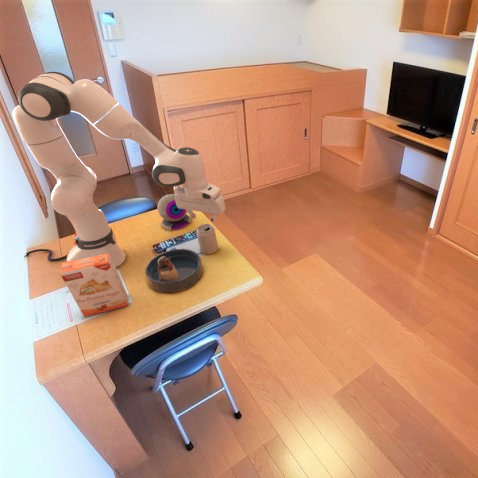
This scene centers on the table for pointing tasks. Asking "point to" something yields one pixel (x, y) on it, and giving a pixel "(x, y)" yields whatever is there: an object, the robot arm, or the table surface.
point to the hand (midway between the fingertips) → (203, 219)
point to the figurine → (167, 270)
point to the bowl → (185, 265)
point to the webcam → (172, 213)
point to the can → (207, 239)
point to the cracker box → (94, 284)
